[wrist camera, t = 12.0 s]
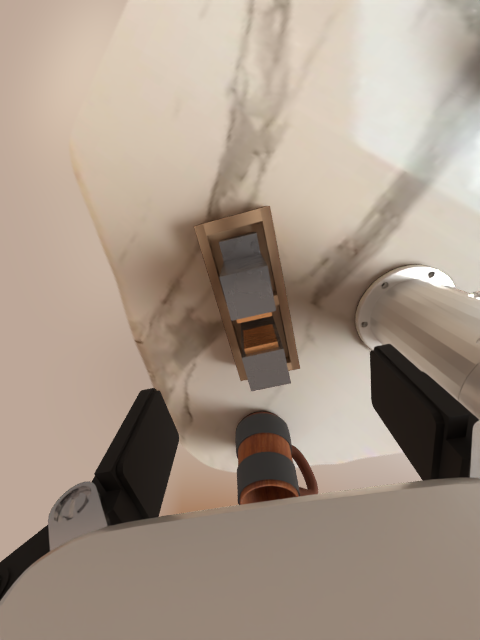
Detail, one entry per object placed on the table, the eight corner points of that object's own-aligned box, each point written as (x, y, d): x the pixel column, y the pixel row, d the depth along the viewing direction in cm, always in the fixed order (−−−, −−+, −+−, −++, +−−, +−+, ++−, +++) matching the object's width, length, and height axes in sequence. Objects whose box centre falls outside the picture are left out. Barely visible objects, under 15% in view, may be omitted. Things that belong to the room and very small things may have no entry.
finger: (255, 231, 28) (262, 240, 20) (266, 288, 30) (277, 317, 22) (220, 240, 28) (212, 252, 20) (234, 295, 31) (233, 326, 23)
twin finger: (270, 308, 31) (282, 343, 23) (280, 352, 34) (294, 398, 26) (239, 315, 32) (240, 352, 24) (251, 359, 34) (255, 406, 26)
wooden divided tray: (266, 206, 29) (269, 205, 26) (294, 354, 36) (299, 368, 33) (198, 224, 29) (193, 226, 26) (240, 366, 37) (240, 381, 34)
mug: (292, 457, 45) (310, 534, 34) (228, 440, 43) (225, 516, 32) (314, 422, 42) (341, 496, 31) (246, 402, 40) (249, 473, 29)
